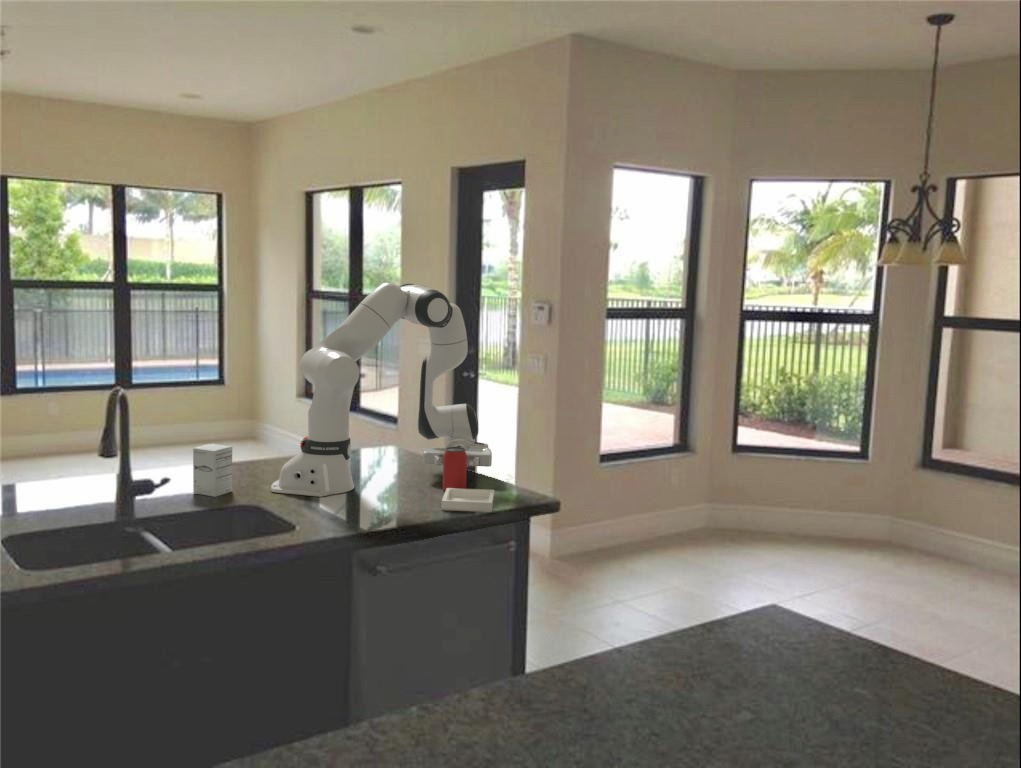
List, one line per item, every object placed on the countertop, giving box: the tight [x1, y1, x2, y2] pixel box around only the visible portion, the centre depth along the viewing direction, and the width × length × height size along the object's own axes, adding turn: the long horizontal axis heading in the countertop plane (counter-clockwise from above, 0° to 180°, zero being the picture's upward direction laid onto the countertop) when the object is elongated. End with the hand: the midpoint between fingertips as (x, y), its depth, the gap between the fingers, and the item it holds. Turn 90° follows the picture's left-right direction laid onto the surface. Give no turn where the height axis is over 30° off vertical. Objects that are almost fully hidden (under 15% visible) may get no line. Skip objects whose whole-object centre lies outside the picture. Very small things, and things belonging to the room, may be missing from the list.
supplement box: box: [192, 443, 233, 498], centre depth 225 cm, size 7×7×13 cm
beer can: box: [442, 447, 468, 492], centre depth 236 cm, size 7×7×12 cm
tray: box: [441, 488, 495, 513], centre depth 223 cm, size 13×13×2 cm
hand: (455, 463), depth 239 cm, fingers open, 8 cm apart
